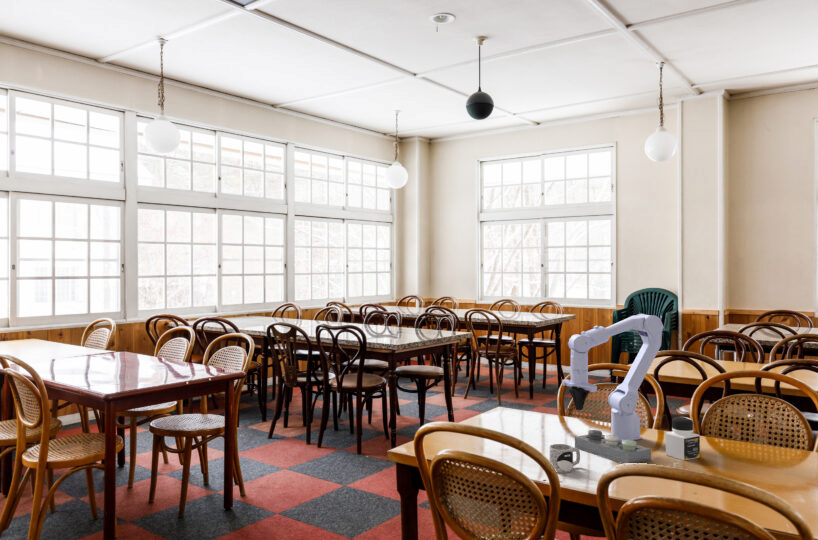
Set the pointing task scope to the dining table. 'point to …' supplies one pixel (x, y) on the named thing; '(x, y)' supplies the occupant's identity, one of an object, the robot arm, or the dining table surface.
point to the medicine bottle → (682, 440)
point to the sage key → (629, 445)
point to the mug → (563, 457)
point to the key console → (612, 450)
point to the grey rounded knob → (595, 434)
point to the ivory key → (611, 439)
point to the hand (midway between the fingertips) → (579, 409)
